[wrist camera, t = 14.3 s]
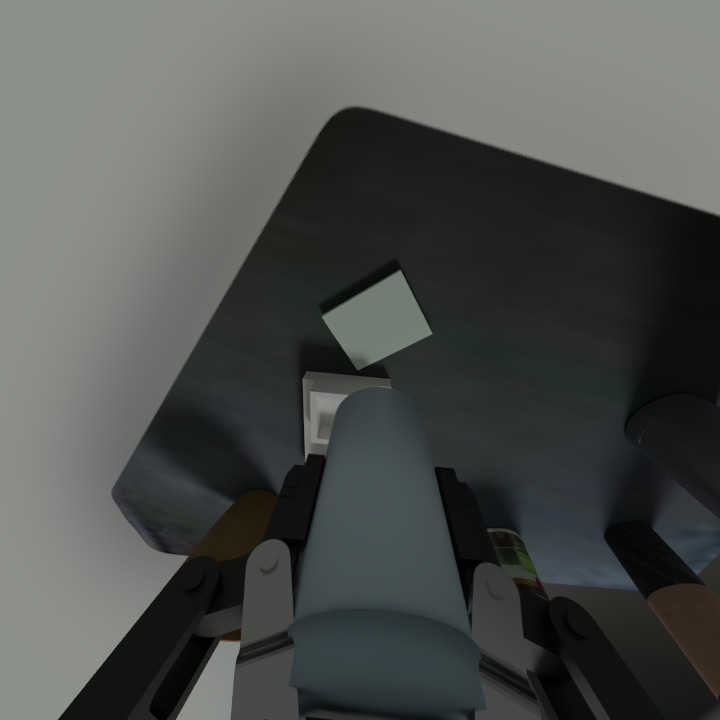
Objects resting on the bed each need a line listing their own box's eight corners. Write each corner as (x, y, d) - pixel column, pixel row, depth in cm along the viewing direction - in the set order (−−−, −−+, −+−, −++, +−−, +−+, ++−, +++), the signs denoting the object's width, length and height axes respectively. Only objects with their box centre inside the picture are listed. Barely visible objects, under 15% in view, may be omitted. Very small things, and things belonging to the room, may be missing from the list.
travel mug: (594, 531, 45) (734, 726, 28) (643, 514, 43) (833, 719, 25) (611, 551, 48) (751, 743, 30) (659, 536, 45) (842, 738, 27)
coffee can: (501, 519, 46) (548, 630, 33) (533, 545, 48) (587, 656, 36) (453, 541, 49) (478, 648, 37) (484, 564, 52) (518, 670, 40)
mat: (400, 269, 28) (400, 270, 27) (430, 330, 31) (432, 333, 30) (323, 314, 31) (321, 316, 30) (358, 366, 33) (357, 370, 33)
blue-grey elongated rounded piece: (433, 390, 14) (536, 699, 5) (415, 460, 16) (463, 755, 7) (333, 380, 14) (251, 666, 5) (331, 452, 16) (273, 731, 7)
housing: (390, 378, 34) (392, 407, 29) (376, 469, 42) (376, 505, 36) (306, 370, 34) (293, 397, 29) (308, 462, 42) (298, 496, 37)
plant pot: (263, 535, 52) (220, 650, 38) (205, 492, 47) (131, 607, 33) (320, 511, 48) (296, 632, 34) (263, 462, 43) (206, 580, 28)
